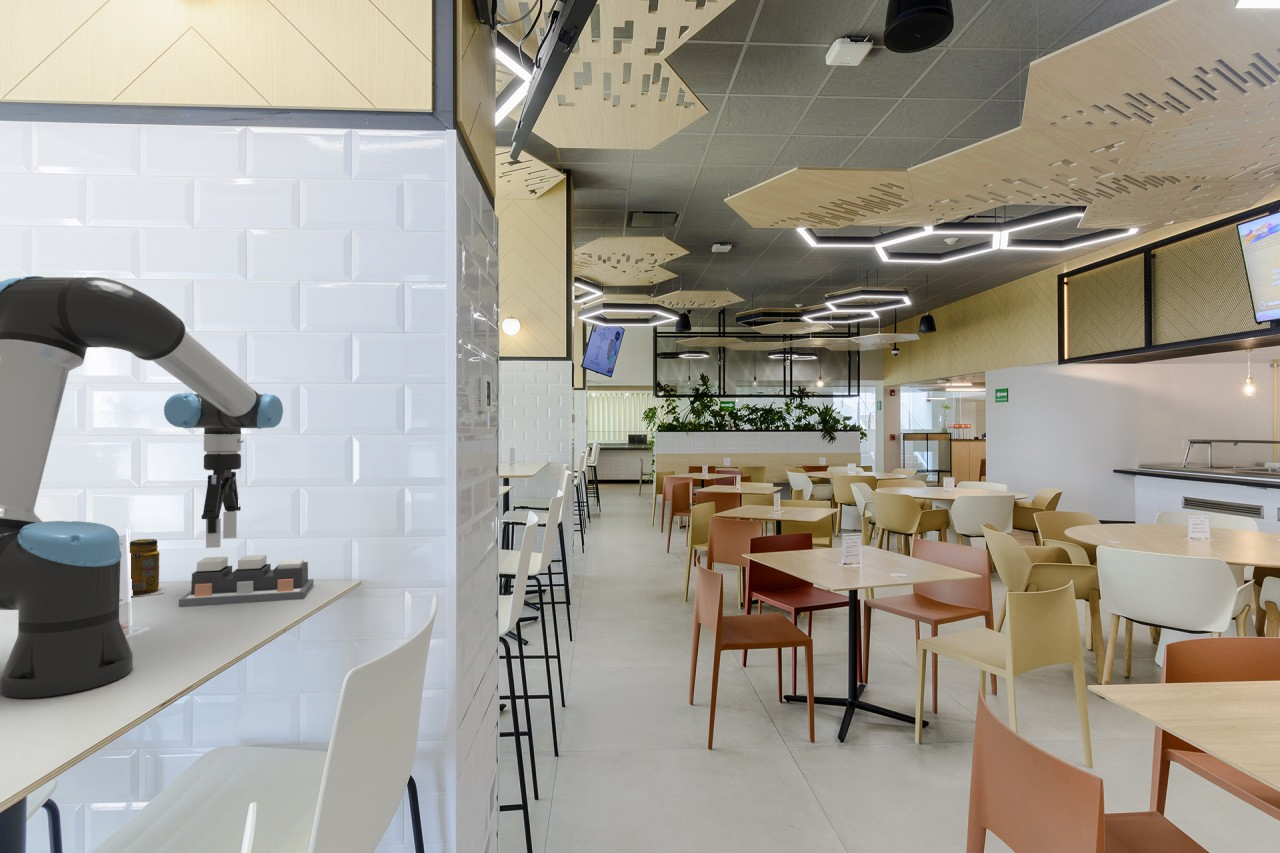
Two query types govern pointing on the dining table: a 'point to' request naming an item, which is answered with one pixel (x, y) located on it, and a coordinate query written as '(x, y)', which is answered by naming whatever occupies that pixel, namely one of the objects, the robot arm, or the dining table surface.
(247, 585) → the switch unit
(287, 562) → the button right
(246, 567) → the button mid
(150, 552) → the condiment
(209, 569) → the button left
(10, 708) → the dining table surface
